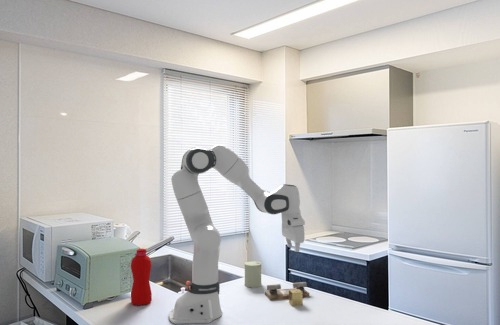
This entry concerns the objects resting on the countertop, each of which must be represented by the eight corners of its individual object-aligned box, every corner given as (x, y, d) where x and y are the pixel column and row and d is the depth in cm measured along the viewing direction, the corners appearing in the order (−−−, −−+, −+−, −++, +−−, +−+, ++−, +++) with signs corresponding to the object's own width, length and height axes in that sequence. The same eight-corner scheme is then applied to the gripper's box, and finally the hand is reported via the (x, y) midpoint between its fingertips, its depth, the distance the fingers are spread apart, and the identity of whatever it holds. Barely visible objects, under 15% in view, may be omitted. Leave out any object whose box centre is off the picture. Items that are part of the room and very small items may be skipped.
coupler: (292, 306, 174) (292, 293, 174) (288, 302, 179) (288, 289, 179) (302, 305, 176) (302, 292, 176) (299, 301, 180) (299, 289, 180)
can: (261, 287, 201) (261, 264, 201) (244, 287, 201) (244, 264, 201) (261, 282, 210) (261, 260, 210) (244, 282, 210) (244, 260, 210)
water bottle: (127, 300, 182) (126, 247, 182) (150, 298, 186) (150, 246, 186) (127, 307, 173) (127, 252, 174) (152, 304, 177) (152, 250, 177)
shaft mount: (270, 300, 182) (270, 288, 182) (264, 294, 191) (264, 282, 191) (309, 296, 187) (309, 284, 187) (302, 290, 196) (302, 279, 196)
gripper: (277, 217, 186) (279, 245, 186) (292, 223, 166) (294, 255, 166) (290, 215, 187) (291, 243, 187) (306, 221, 168) (308, 253, 168)
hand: (293, 249), depth 177 cm, fingers open, 8 cm apart
